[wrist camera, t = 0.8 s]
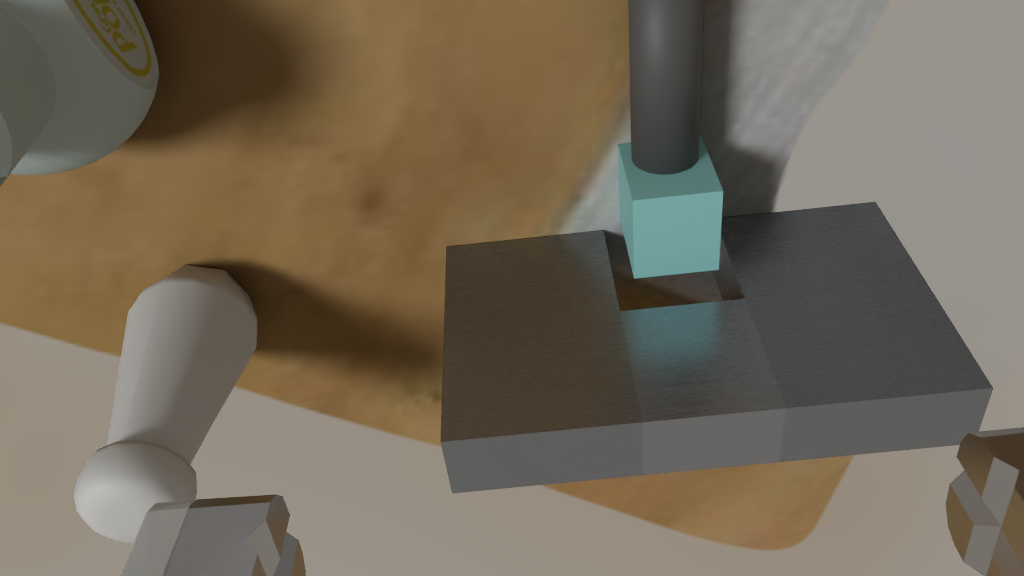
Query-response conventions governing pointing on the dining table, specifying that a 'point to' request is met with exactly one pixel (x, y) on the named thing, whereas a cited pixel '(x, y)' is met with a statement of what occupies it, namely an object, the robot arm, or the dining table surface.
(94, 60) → the air freshener
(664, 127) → the plug
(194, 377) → the salt shaker
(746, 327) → the block
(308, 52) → the dining table surface
